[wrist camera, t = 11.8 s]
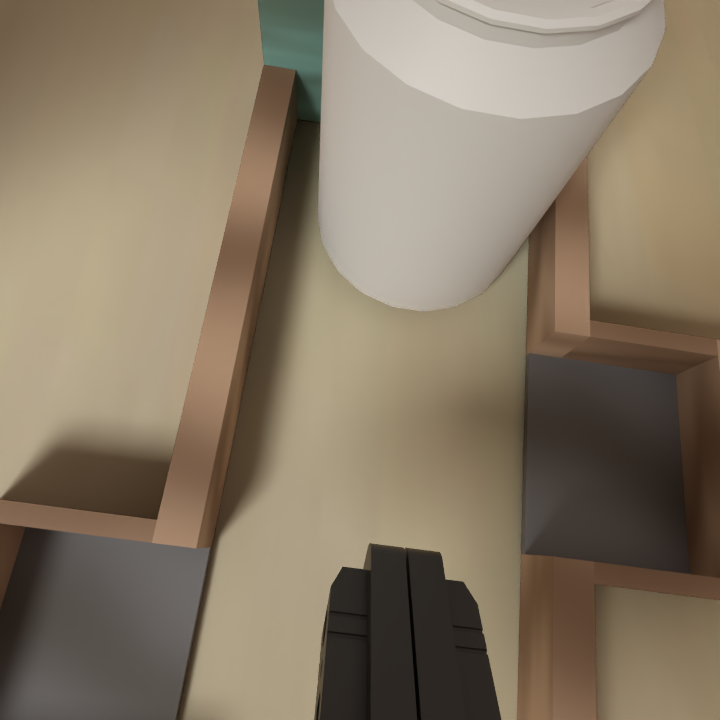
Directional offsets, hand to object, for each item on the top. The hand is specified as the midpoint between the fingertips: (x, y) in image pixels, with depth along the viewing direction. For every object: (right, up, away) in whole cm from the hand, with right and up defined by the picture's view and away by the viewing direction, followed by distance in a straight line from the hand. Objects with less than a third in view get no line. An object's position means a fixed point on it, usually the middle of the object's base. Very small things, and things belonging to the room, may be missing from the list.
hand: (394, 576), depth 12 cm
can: (+1, +10, +10) cm, 14 cm away
